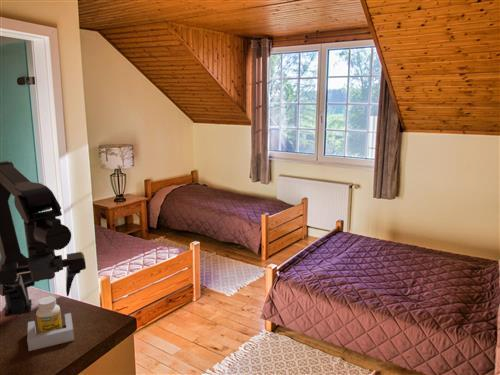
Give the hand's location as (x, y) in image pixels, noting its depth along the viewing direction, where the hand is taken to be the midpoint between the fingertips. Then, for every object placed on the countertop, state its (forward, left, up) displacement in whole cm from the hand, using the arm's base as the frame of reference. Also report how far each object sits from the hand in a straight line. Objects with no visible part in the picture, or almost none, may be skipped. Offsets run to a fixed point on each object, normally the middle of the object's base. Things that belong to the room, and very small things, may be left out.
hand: (47, 299), depth 103 cm
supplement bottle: (0, 0, -10) cm, 10 cm away
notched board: (+1, 0, -10) cm, 10 cm away
